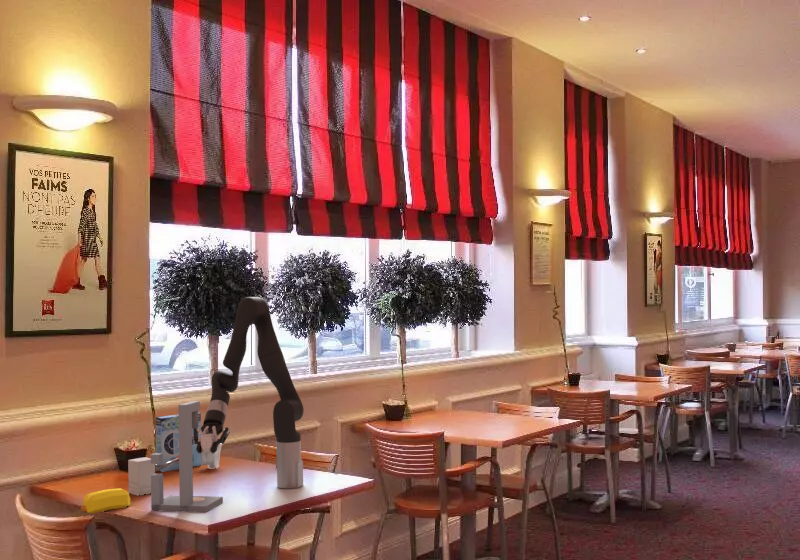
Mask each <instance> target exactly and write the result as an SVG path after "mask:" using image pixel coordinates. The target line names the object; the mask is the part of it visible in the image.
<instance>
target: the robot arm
mask: <svg viewBox="0 0 800 560" xmlns="http://www.w3.org/2000/svg"><path fill="white" fill-rule="evenodd" d="M269 309H270V308H269V305H268V303H267V302H266V300H265V299H264V298H263V297H260V296H247V297H244V298H242V299H241V300H240V301H239V303H238V306H237V310H236V315H235V320H234V325H233V328H232V334H231V338H230V342H229V344H228V346H227V350H226V353H225V355H224V358H223V361H222V365H223V366H224V367H225V368H226V369H228V370H230V371H231V372H232V373H231V372H230V373H229V372H225V371H223V370H216V371H215V372H213V374H212V377H211V383H210V384H211V396H210V401H209V404H208V406H207V408H206V409H207V410H206V413H205V416H204V419H203V423H202V426H201V428H199V429H197V428H194V429H193V430H194V441H195V444H197V448H196V450H197V452H198V453H201V436H200V438H199V439H198V435H199V434H200V432H201V434H202V433H205V430H209V433H214V442H213V446H212V449H211V451H212V453H215V452H216V451H217V448H218V445H219V444H223V445H224V444H225V441H226V440H227V438H228V436H229V435H230V433H231V432H230V429H229V427H224V425H225V421H226V417H227V412H228V407H229V403H230V398H231V396H230V393H234V392H235V391H236V390H237V389H238V387H239V378H240V377H239V376H240V369H241V365H242V363H243V360H244V358H245V356H246V355H245V354H246V352H247V335H248V331H249V329H250V326H251V324H252V322H253V325H254V327H255V329H256V332H257V357H258V360H259V364H260V366H261V369H262V371H263V373H264V374H265V376H266V377H267V378H268V380H269V381H270V382H271V383H272V385H273V386H274V387H275V389H276V392H277V393H278V396H279V400H278V401H277V402H276V403H275V405H274V406H273V411H272V420H273V432H274V435H275V438H276V444H275V445H276V449H277V468H276V485H277V488H279V489H298V488H300V487H302V486H303V485H304V460H303V459H302V441H301V437H302V436H301V435H302V434H301V432H299V431H297V429H296V422H298V421H299V420H301V419H302V418H303V416H304V412H305V411H304V405H303V402H302V400H301V398H300V395H299V394H298V392H297V390H296V388H295V387H296V386H295V385H294V382H293V380H292V377H291V374H290V371H289V369H288V365H287V363H286V360H285V357H284V354H283V352H282V348H281V345H280V344H279V341H278V337H277V335H276V332H275V329H274V325H273V321H272V317H271V316H272V315H271V312H270V310H269ZM219 435H220V436H219ZM218 437H219V438H220V439H219V438H218Z"/></svg>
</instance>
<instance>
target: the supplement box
mask: <svg viewBox="0 0 800 560" xmlns="http://www.w3.org/2000/svg"><path fill="white" fill-rule="evenodd" d="M127 463H128V466H127V468H128V470H127V472H128V475H127V476H128V493H129V494H130V493H131V495H134V496H137V497H139V495H140V496H145V495H144V494H146V495H151V494H150V493H151V475H153V474H156V470H155V467H156V464H151V457H150V458H149V457H147V456H146V457H137V458H133V459H132V458H131V459H128V460H127Z"/></svg>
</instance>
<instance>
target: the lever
mask: <svg viewBox="0 0 800 560" xmlns="http://www.w3.org/2000/svg"><path fill="white" fill-rule="evenodd" d="M175 463H179V455H178V456H177V457H176V459H173V460H171V461H168V462H166V463H163V464H161V465H158V466H156V465H155V472H159V470H161V469H163V468H166V467H168V466H171V465H173V464H175Z"/></svg>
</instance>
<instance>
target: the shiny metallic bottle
mask: <svg viewBox="0 0 800 560" xmlns="http://www.w3.org/2000/svg"><path fill="white" fill-rule="evenodd" d="M200 435H201V465H200V466H208V465H211V464H214V453H212V451H211V449H212V446H213V442H214V433H209V430H205V433H202V432H201V434H200Z"/></svg>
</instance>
